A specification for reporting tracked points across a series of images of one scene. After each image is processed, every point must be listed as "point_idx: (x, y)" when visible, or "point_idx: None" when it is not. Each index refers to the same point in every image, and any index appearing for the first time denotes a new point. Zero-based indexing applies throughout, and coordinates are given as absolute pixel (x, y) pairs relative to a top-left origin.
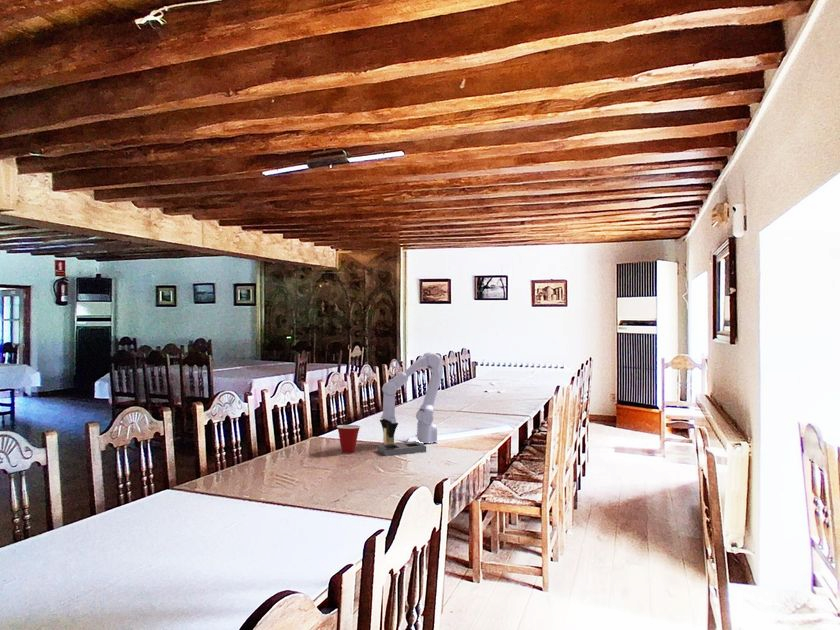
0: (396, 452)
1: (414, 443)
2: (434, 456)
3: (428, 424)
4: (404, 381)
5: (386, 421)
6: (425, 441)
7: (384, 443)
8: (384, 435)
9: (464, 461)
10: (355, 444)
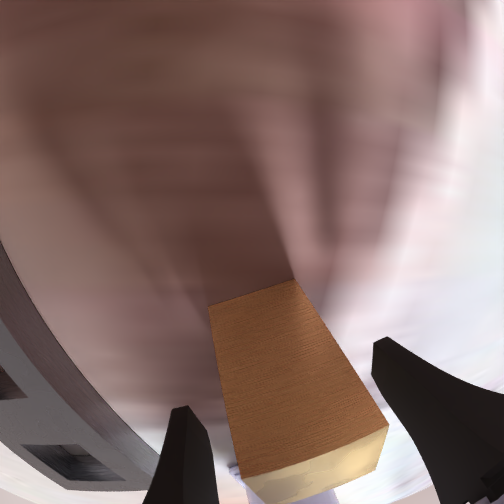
0: None
1: (123, 477)
2: (14, 463)
3: None
4: None
5: (459, 481)
6: (245, 486)
7: (262, 298)
8: (295, 359)
9: (7, 486)
10: None
